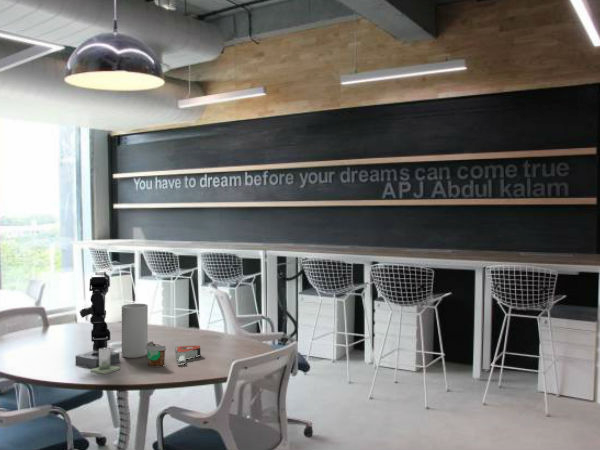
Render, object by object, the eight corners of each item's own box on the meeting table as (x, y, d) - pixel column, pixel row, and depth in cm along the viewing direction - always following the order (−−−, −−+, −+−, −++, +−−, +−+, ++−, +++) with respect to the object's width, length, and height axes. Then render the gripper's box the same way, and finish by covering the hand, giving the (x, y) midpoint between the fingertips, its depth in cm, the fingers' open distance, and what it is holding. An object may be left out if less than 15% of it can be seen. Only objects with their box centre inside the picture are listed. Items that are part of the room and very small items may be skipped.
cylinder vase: (117, 354, 284) (117, 305, 283) (141, 350, 292) (141, 302, 291) (127, 359, 274) (127, 308, 274) (151, 355, 282) (151, 306, 282)
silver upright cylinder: (104, 366, 260) (105, 346, 260) (112, 367, 258) (112, 348, 258) (96, 368, 256) (96, 349, 256) (104, 370, 253) (104, 350, 253)
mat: (106, 366, 263) (106, 364, 263) (119, 369, 258) (119, 367, 258) (90, 371, 255) (90, 369, 255) (104, 374, 250) (104, 372, 250)
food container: (140, 363, 267) (140, 343, 267) (152, 361, 272) (152, 341, 271) (154, 369, 259) (154, 347, 258) (165, 366, 263) (165, 345, 263)
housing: (99, 357, 279) (99, 349, 278) (119, 361, 272) (119, 352, 272) (75, 363, 266) (75, 355, 266) (96, 368, 260) (96, 359, 259)
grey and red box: (180, 370, 264) (211, 358, 279) (180, 359, 263) (211, 348, 279) (156, 362, 274) (187, 351, 290) (156, 351, 274) (187, 341, 289)
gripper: (82, 298, 280) (82, 329, 281) (78, 305, 262) (78, 338, 263) (106, 298, 283) (106, 328, 284) (103, 304, 265) (104, 337, 266)
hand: (98, 333), depth 274 cm, fingers open, 9 cm apart
